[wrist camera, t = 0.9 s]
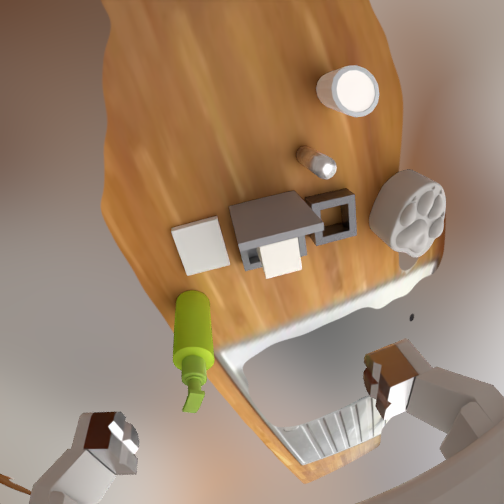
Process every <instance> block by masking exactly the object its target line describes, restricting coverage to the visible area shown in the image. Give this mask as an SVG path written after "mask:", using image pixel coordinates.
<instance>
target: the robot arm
mask: <svg viewBox="0 0 504 504" xmlns="http://www.w3.org/2000/svg"><path fill="white" fill-rule="evenodd" d="M364 364H365V365H366V367H367V368H366V369H365V370H364V372H363V379H364V384H365V387H366V390H367V392H368V394H369V396H370V397H372V398H374V399H376V408H377V410H378V411H379V413H380V415H381V417H382V418H383V420H386V419H388V418H390V417H393V416H395V415H398V414H400V413H402V412H404V411H406V412H407V413H409V414H411V415H413V416H415V417H416V418H418V419H420V420H422V421H424V422H426V423H428V424H429V425H431V426H433V427H435V428H437V429H439V430H441V431H443V432H445V433H447V435H446V437H445V439H444V441H443V442H442V444H441V446H440V450H441V452H442V454H443V455H444V457H445V459H446V460H445V461H443V462H442V463H440V464H438V465H437V466H435V467H433V468H431V469H429V470H428V471H426V472H424V473H422V474H420V475H419V476H417V477H415V478H413V479H411V480H409V481H407V482H405V483H403V484H401V485H399V486H396V487H394V488H392V489H390V490H388V491H386V492H383V493H381V494H379V495H377V496H374V497H372V498H369V499H367V500H364V501H362V502H359V503H356V504H504V397H503V396H502V395H501V394H500V392H499V391H498V390H497V389H496V388H495V387H494V386H493V385H491V384H488V383H485V382H481V381H479V380H475V379H472V378H469V377H466V376H463V375H460V374H457V373H454V372H451V371H448V370H445V369H442V368H439V367H434V368H432V367H431V365H430V364H429V363H428V362H427V361H426V360H425V358H424V357H423V356H422V355H421V354H420V352H419V351H418V350H417V349H416V348H415V347H414V345H413V344H412V343H411V342H410V341H409V340H408V339H403V340H401V341H398V342H396V343H393V344H390V345H388V346H386V347H383V348H381V349H378V350H376V351H374V352H371V353H368V354H366V355H365V357H364ZM125 418H126V417H125V416H124V414H123V413H122V412H94V413H83V414H82V415H81V416H80V418H79V421H78V425H77V428H76V432H75V436H74V440H73V443H72V447H71V449H67V450H66V451H65V452H64V453H63V455H62V456H61V457H60V458H59V459H58V460H57V461H56V462H55V463H54V464H53V465H52V466H51V467H50V468H49V469H48V470H47V471H46V472H45V473H44V474H43V475H42V477H41V478H40V479H39V480H38V481H37V482H36V483H35V484H34V485H33V488H32V492H31V497H30V501H29V504H98V503H99V502H100V500H101V499H102V497H103V495H104V494H105V492H106V491H107V489H108V488H109V486H110V485H111V483H112V482H113V480H114V478H115V477H116V475H128V474H136V473H137V462H138V458H137V457H136V456H135V452H136V451H137V450H138V449H139V438H138V433H137V431H136V429H135V428H134V426H133V425H132V424H130V423H128V422H126V421H125Z"/></svg>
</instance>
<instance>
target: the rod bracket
mask: <svg viewBox="0 0 504 504" xmlns="http://www.w3.org/2000/svg"><path fill="white" fill-rule="evenodd" d="M305 201H306V204H307V205H308V206H309V207H310V208H311V209H312V210H313V211H314V213H315V214H316V215H317V216H318V217H319V218H320V219H321V214H320V210H322V209H326V208H331V207H335V206H339V205H341V214H342V223H339V224H335V225H331V226H327V227H324V230H323V231H319V232H315V233H311V234H310V238H311V239H312V241H313V242H314V243H315V245H316V246H318V245H322V244H326V243H329V242H333V241H337V240H341V239H345V238H348V237H352V236H356V235H357V229H356V207H355V194H353V193H352V192H351V191H349V190H348V189H347V188H345V189H341V190H336V191H332V192H327V193H323V194H318V195H314V196H309V197H305Z"/></svg>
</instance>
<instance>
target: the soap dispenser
mask: <svg viewBox="0 0 504 504" xmlns="http://www.w3.org/2000/svg"><path fill="white" fill-rule="evenodd" d="M173 362H174V365H175V366H176V367H177V368H178V369H180V370H182V382H183V383H184V384H185V385H187V386H188V396H187V399H186V402H185V405H184V407H183V409H182V410H183V412H191V413H196V412H197V411H198V409H199V407H200V405H201V403H202V401H203V398H204V395H205V392H204V391H201V386H202V385H204V383H206V381H207V375H206V370H208V369H210V368H211V367H212V366H213V364H214V351H213V340H212V328H211V316H210V303H209V299H208V298H207V296H206V295H205V294H203V293H201V292H199V291H194V290H191V291H186V292H183V293H182V294H180V295H179V296H178V298H177V300H176V308H175V325H174V344H173Z"/></svg>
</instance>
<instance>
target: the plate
mask: <svg viewBox="0 0 504 504" xmlns="http://www.w3.org/2000/svg"><path fill="white" fill-rule="evenodd" d="M171 232H172V235H173V238H174V241H175V244H176V246H177V249H178V252H179V255H180V257H181V260H182V263H183V265H184V268H185V271H186V273H187V276H189V275H192V274H196V273H200V272H204V271H208V270H212V269H216V268H220V267H224V266H228V265H230V261H229V257H228V254H227V250H226V247H225V243H224V240H223V236H222V232H221V229H220V225H219V222H218V218H217V216H214V217H211V218H207V219H203V220H199V221H196V222H192V223H188V224H185V225H181V226H177V227H174V228H172V230H171Z"/></svg>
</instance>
